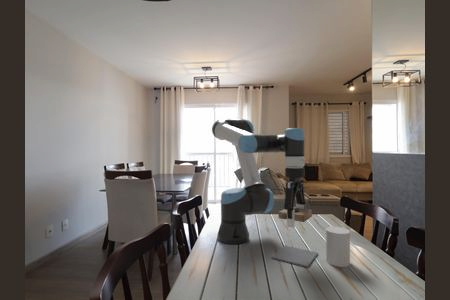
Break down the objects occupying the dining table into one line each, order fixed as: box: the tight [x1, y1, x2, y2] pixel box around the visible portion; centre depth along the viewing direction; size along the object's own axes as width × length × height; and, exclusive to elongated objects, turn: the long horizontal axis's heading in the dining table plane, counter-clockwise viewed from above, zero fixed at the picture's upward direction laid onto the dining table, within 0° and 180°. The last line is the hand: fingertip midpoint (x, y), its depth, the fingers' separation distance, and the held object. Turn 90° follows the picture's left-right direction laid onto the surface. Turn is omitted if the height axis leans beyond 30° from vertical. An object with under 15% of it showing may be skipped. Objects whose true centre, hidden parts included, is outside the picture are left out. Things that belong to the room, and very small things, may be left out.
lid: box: [278, 206, 313, 223], centre depth 100 cm, size 10×10×4 cm
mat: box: [271, 245, 319, 269], centre depth 101 cm, size 14×14×1 cm
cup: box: [325, 226, 351, 268], centre depth 96 cm, size 8×8×12 cm
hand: (295, 223), depth 100 cm, fingers closed on lid, 10 cm apart
